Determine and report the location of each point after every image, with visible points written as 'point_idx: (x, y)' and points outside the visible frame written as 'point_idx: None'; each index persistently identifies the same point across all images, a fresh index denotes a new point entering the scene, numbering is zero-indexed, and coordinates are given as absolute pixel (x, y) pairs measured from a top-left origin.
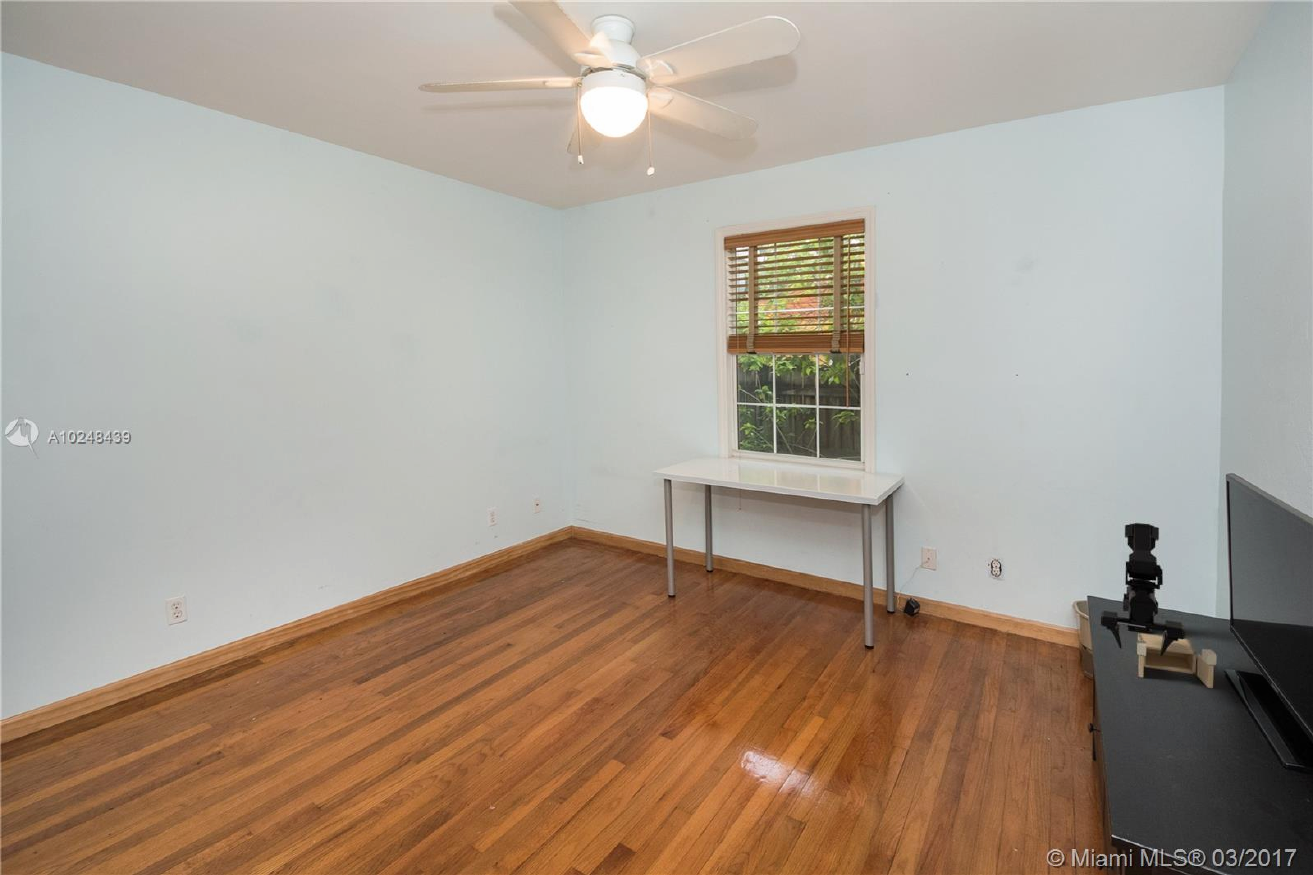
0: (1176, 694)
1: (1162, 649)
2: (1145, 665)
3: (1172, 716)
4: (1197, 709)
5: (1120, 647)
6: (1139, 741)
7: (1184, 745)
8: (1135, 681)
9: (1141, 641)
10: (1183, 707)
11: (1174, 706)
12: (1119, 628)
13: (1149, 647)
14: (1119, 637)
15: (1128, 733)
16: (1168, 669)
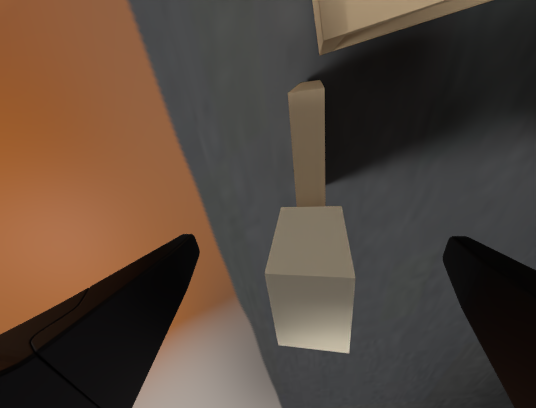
0: (424, 245)
1: (498, 360)
2: (333, 50)
3: (382, 341)
4: None
5: (190, 263)
6: (316, 398)
7: (385, 398)
8: None
9: (307, 290)
10: (423, 304)
11: (398, 306)
12: (6, 400)
13: (384, 19)
14: (137, 387)
15: (299, 388)
16: (463, 9)
